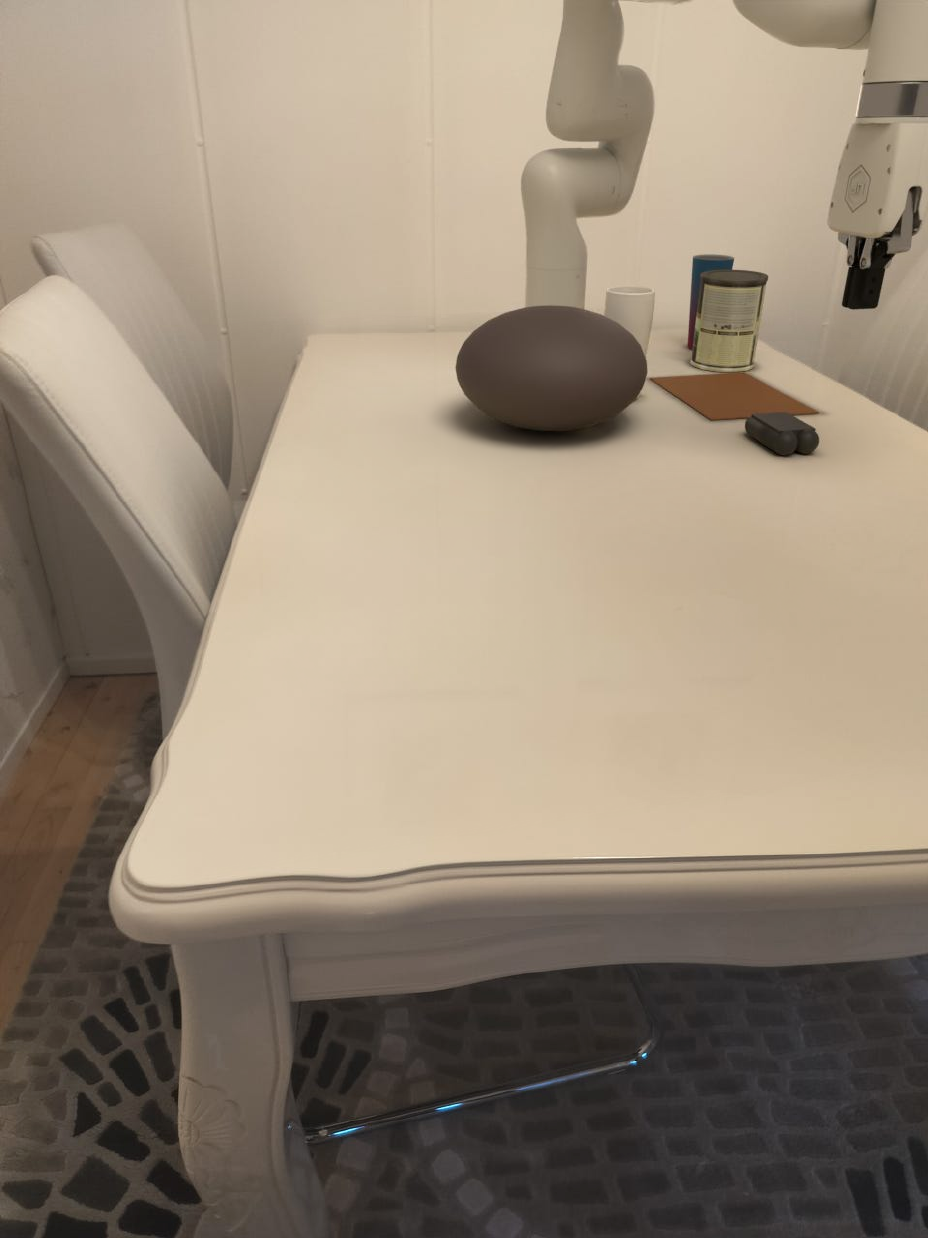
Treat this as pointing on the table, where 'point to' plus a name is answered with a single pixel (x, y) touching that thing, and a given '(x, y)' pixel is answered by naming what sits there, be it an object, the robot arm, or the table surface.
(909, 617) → the table surface
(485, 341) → the flattened ellipsoid
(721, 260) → the cup
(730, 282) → the coffee can
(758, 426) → the mouse
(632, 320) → the drinking glass
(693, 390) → the mouse pad
